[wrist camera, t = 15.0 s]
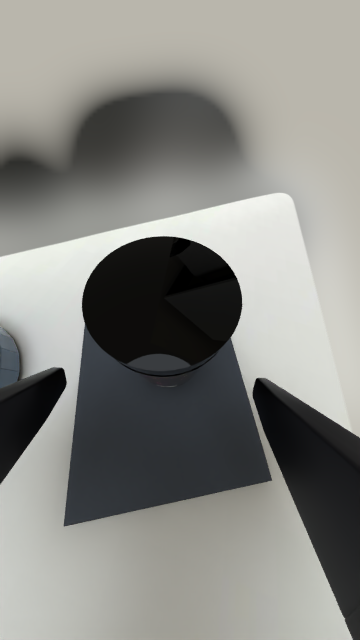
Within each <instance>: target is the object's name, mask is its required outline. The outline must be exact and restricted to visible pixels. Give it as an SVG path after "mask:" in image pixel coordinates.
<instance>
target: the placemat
mask: <svg viewBox="0 0 360 640" xmlns="http://www.w3.org/2000/svg"><path fill="white" fill-rule="evenodd" d="M267 481H272V478H271V475H270V471H269V468H268V465H267V461H266V458H265V454H264V451H263V447H262V444H261V440H260V437H259V434H258V430H257V427H256V423H255V420H254V416H253V413H252V410H251V406H250V403H249V399H248V396H247V392H246V389H245V386H244V382H243V379H242V375H241V372H240V368H239V365H238V361H237V358H236V355H235V351H234V348H233V344H232V341H231V337H230V339H229V340H228V341H227V342H226V343H225V345H224V346H223V347H222V348H221V349H220V351H219V352H218V353H217V354H216V355H215V356H214V357H213V358H212V359H211V360H210V361H209V362H208V363H206V364H205V365H204V366H203V367H202V368H201V370H200V371H199V372H198V373H197V374H196V375H195V376H194V377H193V378H192V379H191V380H189V381H188V382H186V383H185V384H183V385H180V386H177V387H170V388H167V387H160V386H157V385H154V384H152V383H150V382H149V381H147V380H146V379H144V378H143V377H141V376H140V375H139V374H137V373H136V372H134V371H132V370H130V369H128V368H126V367H125V366H123V365H122V364H120V363H119V362H118V361H116V360H115V359H114V358H113V357H111V356H110V355H108V354H107V353H106V352H105V351H104V350H102V349H101V348H100V347H99V345H98V344H97V343H96V342H95V341H94V339H93V338H92V337H91V335H90V333H89V331H88V329H87V327H86V324H85V329H84V339H83V348H82V358H81V367H80V377H79V386H78V396H77V405H76V415H75V424H74V434H73V443H72V453H71V462H70V472H69V481H68V491H67V500H66V510H65V519H64V526H68V525H73V524H77V523H82V522H86V521H91V520H95V519H100V518H104V517H109V516H113V515H118V514H122V513H127V512H131V511H136V510H140V509H145V508H149V507H154V506H159V505H163V504H168V503H172V502H177V501H181V500H186V499H190V498H195V497H199V496H204V495H208V494H213V493H217V492H222V491H226V490H231V489H235V488H240V487H245V486H249V485H254V484H258V483H263V482H267Z"/></svg>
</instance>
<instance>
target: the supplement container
mask: <svg viewBox="0 0 360 640" xmlns="http://www.w3.org/2000/svg"><path fill="white" fill-rule="evenodd" d="M241 310H242V295H241V289H240V285H239V283H238V280H237V278H236V276H235V274H234V272H233V271H232V269H231V268H230V266H229V265H228V264H227V263H226V262H225V261H224V260H223V259H222V258H221V257H220V256H219V255H218V254H217V253H215V252H214V251H212V250H211V249H209V248H207V247H206V246H203V245H201V244H199V243H197V242H194V241H191V240H188V239H183V238H178V237H167V236H160V237H150V238H144V239H140V240H136V241H133V242H131V243H128V244H126V245H123V246H121V247H120V248H118V249H116V250H114V251H113V252H112V253H110V254H109V255H108V256H106V257H105V258H104V259H103V260H102V261H101V262H100V263H99V264H98V265H97V266H96V268H95V269H94V270H93V272H92V273H91V275H90V277H89V279H88V281H87V283H86V286H85V289H84V292H83V298H82V311H83V317H84V322H85V324H86V327H87V329H88V331H89V333H90V335H91V337H92V338H93V339H94V341H95V342H96V343H97V344H98V345H99V347H100V348H101V349H102V350H104V351H105V352H106V353H107V354H108V355H110V356H111V357H113V358H114V359H115V360H116V361H118V362H119V363H120V364H122V365H123V366H125V367H126V368H128V369H130V370H132V371H134V372H136V373H137V374H139V375H140V376H141V377H143V378H144V379H146V380H147V381H149V382H150V383H152V384H154V385H157V386H160V387H167V388H170V387H177V386H180V385H183V384H185V383H186V382H188V381H189V380H191V379H192V378H193V377H194V376H195V375H196V374H197V373H198V372H199V371H200V370H201V368H202V367H203V366H204V365H205V364H206V363H208V362H209V361H210V360H211V359H212V358H213V357H214V356H215V355H216V354H217V353H218V352H219V351H220V349H221V348H222V347H223V346H224V345H225V343H226V342H227V341H228V340H229V339H230V337H231V336H232V334H233V333H234V331H235V329H236V327H237V325H238V322H239V319H240V315H241Z"/></svg>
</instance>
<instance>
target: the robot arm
mask: <svg viewBox="0 0 360 640" xmlns="http://www.w3.org/2000/svg"><path fill="white" fill-rule="evenodd" d="M66 383H67V382H66V377H65V372H64V369H63V368H57V367H53V368H50V369H47V370H45V371H42V372H40V373H37V374H35V375H32V376H30V377H27V378H25V379H22V380H20V381H17V382H15V383H12V384H10V385H7V386H5V387H2V388H0V484H1V483H2V481H3V480H4V479H5V477H6V476H7V474H8V473H9V472H10V470H11V469H12V467H13V466H14V465H15V463H16V462H17V460H18V459H19V458H20V456H21V455H22V453H23V452H24V451H25V449H26V448H27V446H28V445H29V444H30V442H31V441H32V439H33V438H34V437H35V435H36V434H37V432H38V431H39V430H40V428H41V427H42V425H43V424H44V422H45V421H46V419H47V418H48V416H49V415H50V413H51V411H52V410H53V408H54V406H55V404H56V403H57V401H58V399H59V398H60V396H61V394H62V393H63V391H64V389H65V387H66ZM253 399H254V402H255V405H256V408H257V411H258V414H259V417H260V421H261V424H262V427H263V430H264V432H265V435H266V437H267V440H268V442H269V444H270V447H271V449H272V451H273V454H274V456H275V458H276V461H277V463H278V465H279V468H280V470H281V472H282V475H283V477H284V479H285V482H286V484H287V486H288V489H289V491H290V493H291V496H292V498H293V500H294V503H295V505H296V507H297V510H298V512H299V514H300V517H301V519H302V521H303V524H304V526H305V528H306V531H307V533H308V535H309V538H310V540H311V542H312V545H313V547H314V549H315V552H316V554H317V556H318V559H319V561H320V563H321V566H322V568H323V570H324V573H325V575H326V577H327V580H328V582H329V584H330V587H331V589H332V591H333V594H334V596H335V598H336V601H337V603H338V605H339V608H340V610H341V612H342V615H343V616H344V618H345V622H346V624H347V627H348V629H349V631H350V634H351V636H352V638H353V640H360V438H359V437H358V436H356V435H354V434H353V433H351V432H350V431H348V430H347V429H345V428H343V427H342V426H340V425H339V424H337V423H336V422H334V421H332V420H331V419H329V418H328V417H326V416H325V415H323V414H321V413H320V412H318V411H317V410H315V409H313V408H312V407H310V406H309V405H307V404H306V403H304V402H302V401H301V400H299V399H298V398H296V397H295V396H293V395H291V394H290V393H288V392H287V391H285V390H284V389H282V388H280V387H279V386H277V385H276V384H274V383H273V382H271V381H269V380H268V379H266V378H257V379H256V381H255V384H254V388H253Z"/></svg>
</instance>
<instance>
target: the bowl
mask: <svg viewBox="0 0 360 640" xmlns="http://www.w3.org/2000/svg"><path fill="white" fill-rule="evenodd" d="M19 371H20V367H19V352H18V349H17V347H16V344H15V342H14V339H13V338H12V337H11V336H10V335H9V334H8V333H7V332H6V331H5V330H4V329H3V328H1V327H0V388H2V387H5V386H7V385H10V384H12V383H15V382H17V380H18V376H19Z"/></svg>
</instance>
